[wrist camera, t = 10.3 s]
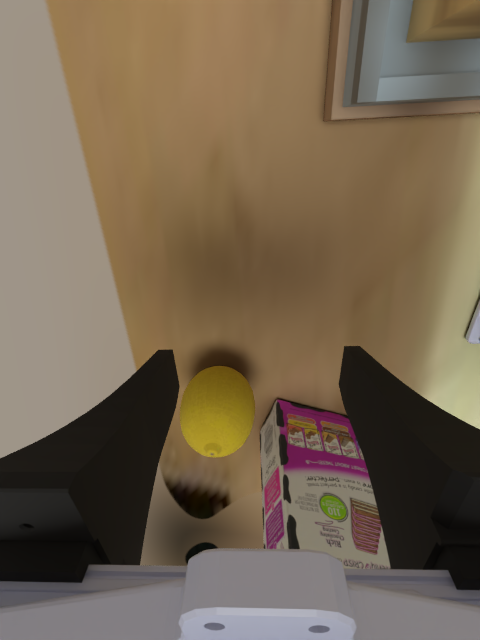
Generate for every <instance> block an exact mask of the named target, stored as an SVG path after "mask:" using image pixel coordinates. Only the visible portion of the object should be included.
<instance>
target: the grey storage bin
mask: <svg viewBox="0 0 480 640" xmlns="http://www.w3.org/2000/svg"><path fill="white" fill-rule="evenodd" d="M412 5H413V0H332V13H331V26H330V40H329V53H328V66H327V80H326V93H325V106H324V120H323V121H337V120H356V119H374V118H393V117H411V116H430V115H448V114H466V113H480V38H477V39H461V40H445V41H429V42H412V43H406V40H407V34H408V28H409V23H410V17H411V11H412Z"/></svg>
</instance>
